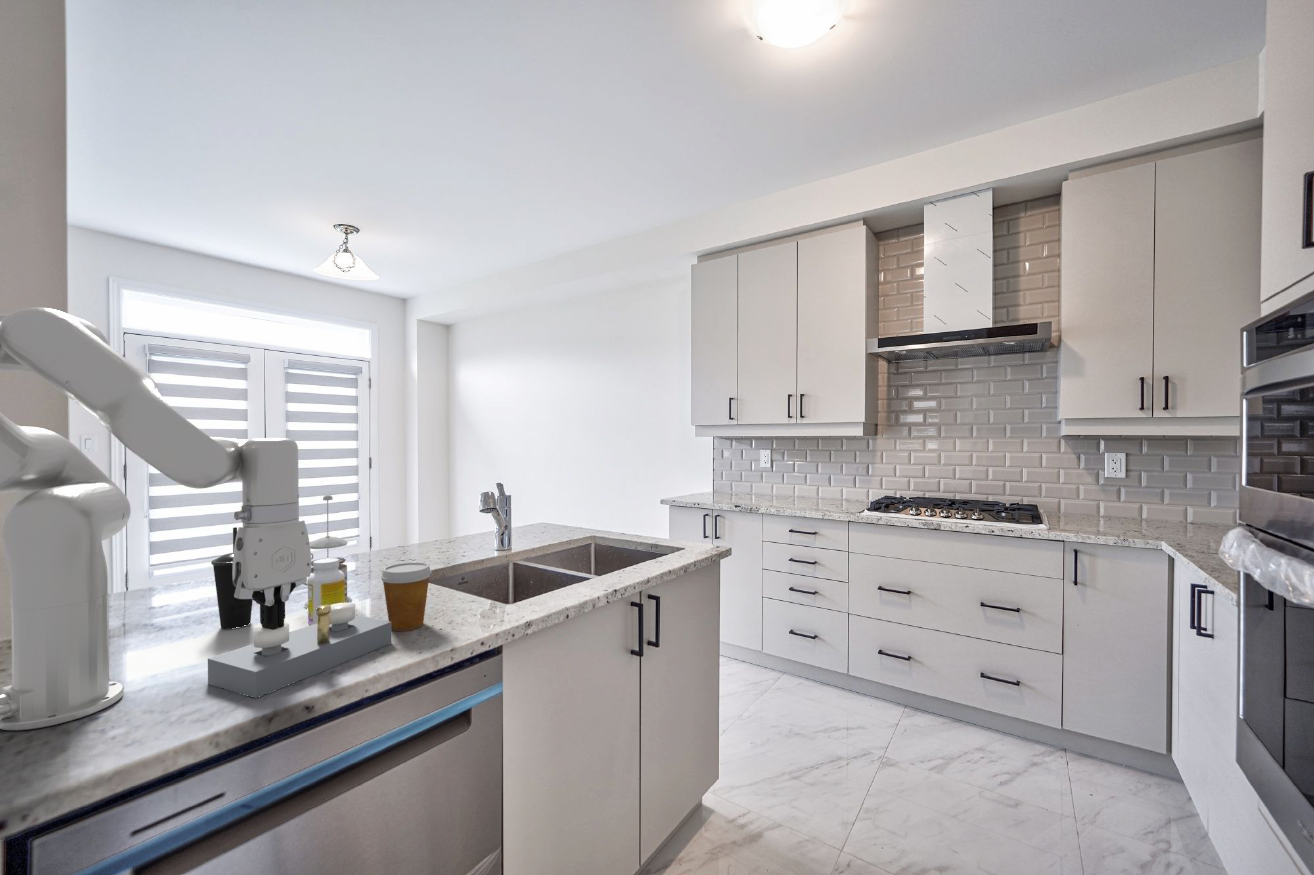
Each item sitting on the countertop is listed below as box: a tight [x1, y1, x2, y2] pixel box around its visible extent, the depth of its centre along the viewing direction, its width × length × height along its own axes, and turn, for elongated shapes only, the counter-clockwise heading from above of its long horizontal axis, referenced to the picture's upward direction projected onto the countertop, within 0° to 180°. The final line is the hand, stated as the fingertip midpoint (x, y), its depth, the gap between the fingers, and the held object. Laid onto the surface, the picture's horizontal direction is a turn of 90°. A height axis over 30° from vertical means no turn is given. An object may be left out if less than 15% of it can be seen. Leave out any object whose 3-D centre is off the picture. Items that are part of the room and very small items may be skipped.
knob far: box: [329, 602, 356, 632], centre depth 102 cm, size 5×5×7 cm
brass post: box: [316, 605, 331, 644], centre depth 95 cm, size 2×2×6 cm
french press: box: [303, 494, 353, 609], centre depth 129 cm, size 10×12×25 cm
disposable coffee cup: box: [380, 561, 432, 632], centre depth 114 cm, size 10×10×12 cm
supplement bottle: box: [307, 557, 345, 626], centre depth 117 cm, size 7×7×13 cm
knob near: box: [252, 622, 290, 657], centre depth 91 cm, size 5×5×7 cm
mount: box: [207, 614, 392, 699], centre depth 96 cm, size 24×12×4 cm, turn 156°
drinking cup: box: [211, 526, 254, 630], centre depth 114 cm, size 8×8×20 cm
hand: (272, 627), depth 91 cm, fingers closed
